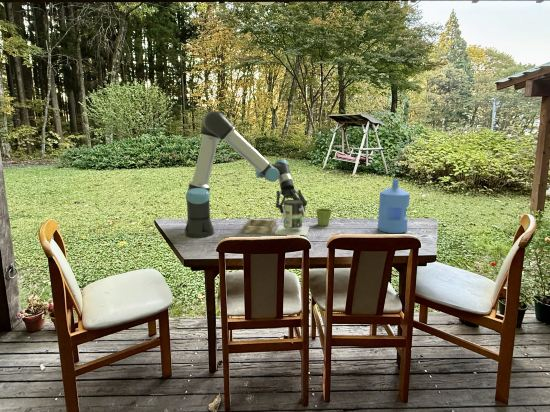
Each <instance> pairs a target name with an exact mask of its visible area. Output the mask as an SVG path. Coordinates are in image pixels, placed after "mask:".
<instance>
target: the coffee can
mask: <svg viewBox="0 0 550 412" xmlns="http://www.w3.org/2000/svg"><path fill="white" fill-rule="evenodd" d="M302 203H303V201H301V200H294V199H285V201H283V206H284V209H285V213H286V218H285V219H284V218H283V225H284V228H287V229H299V228H302V226H303V216H302Z"/></svg>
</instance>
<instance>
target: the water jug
mask: <svg viewBox="0 0 550 412" xmlns="http://www.w3.org/2000/svg"><path fill="white" fill-rule="evenodd" d="M410 198H411V197H410V193H409V192H408V191H406V190H404V189H402V188H400V187H399V179H392V185H391V187H389V188H386V189H384V190H381V191H380V192H379V198H378V199H379V204H378V217H377V218H378V221H377V229H378V230H379V231H381V232H383V233H386V232H387V233H388V234H403V232H404V233H406V232H407V231H408V220H409V219H408V218H407V208H408V207H409V206H410V200H411V199H410Z"/></svg>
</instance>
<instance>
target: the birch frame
mask: <svg viewBox="0 0 550 412" xmlns="http://www.w3.org/2000/svg"><path fill="white" fill-rule="evenodd" d="M276 227H277V220H276V219H275V220H273V219H256V218H250V219H248V220H247V221H246V222H245V224H244V225H243V226H242V232H243V233H246V234H249V233H250V234H265V235H271V234H273V232H274V230H275V229H276Z"/></svg>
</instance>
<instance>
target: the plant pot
mask: <svg viewBox="0 0 550 412" xmlns="http://www.w3.org/2000/svg"><path fill="white" fill-rule="evenodd" d="M315 212H316V219H317V225H318V226H321V227H323V226H324V227H325V226H329V225H330V220H331V214H332V212H333V210H332V209H330V208H316V209H315Z"/></svg>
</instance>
